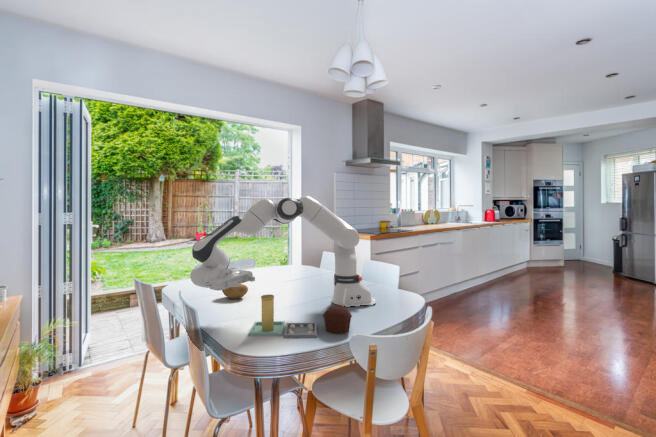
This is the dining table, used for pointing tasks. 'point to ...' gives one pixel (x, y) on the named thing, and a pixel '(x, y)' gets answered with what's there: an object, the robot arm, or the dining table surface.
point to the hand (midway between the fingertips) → (246, 281)
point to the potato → (235, 291)
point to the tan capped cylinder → (267, 313)
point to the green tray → (277, 331)
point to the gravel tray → (300, 330)
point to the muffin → (337, 319)
